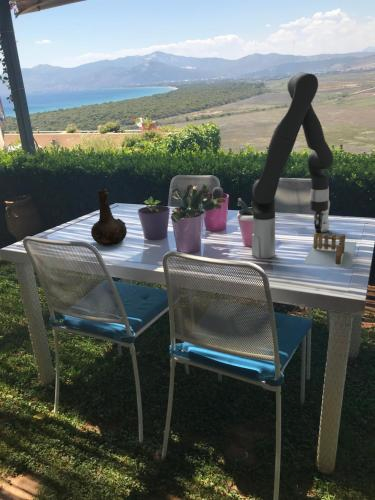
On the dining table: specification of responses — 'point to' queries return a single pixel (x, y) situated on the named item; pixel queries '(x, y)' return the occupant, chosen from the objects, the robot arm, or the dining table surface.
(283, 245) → the dining table surface
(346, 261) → the card
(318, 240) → the fence gate
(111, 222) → the brown long-necked vase
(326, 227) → the plastic bottle
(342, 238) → the fence fixed
